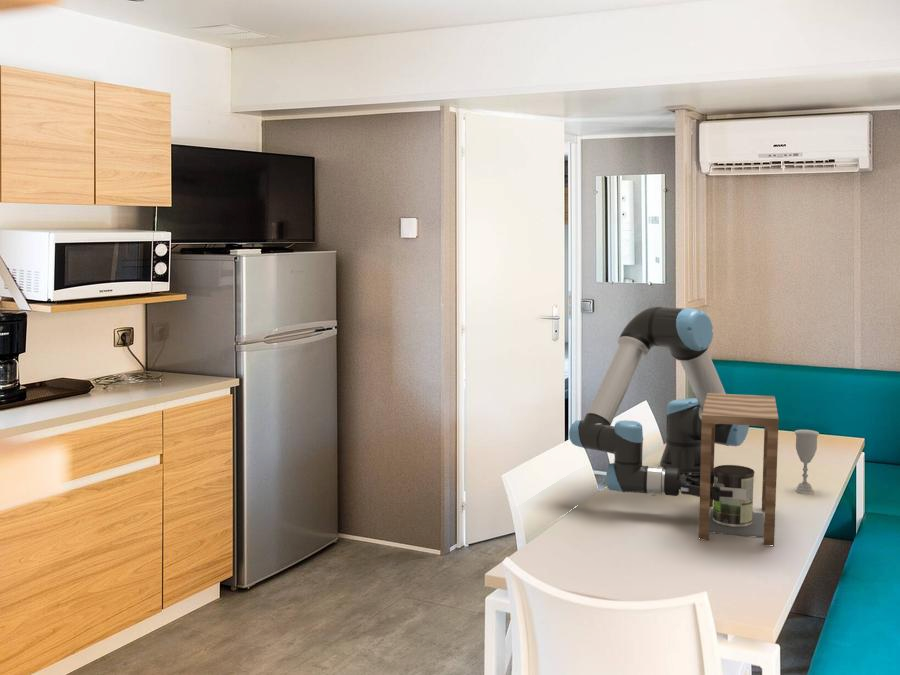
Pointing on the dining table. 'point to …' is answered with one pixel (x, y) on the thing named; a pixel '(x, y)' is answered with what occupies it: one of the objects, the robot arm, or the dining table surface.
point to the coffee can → (733, 509)
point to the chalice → (805, 455)
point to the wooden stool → (763, 414)
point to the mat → (750, 530)
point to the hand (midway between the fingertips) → (746, 487)
